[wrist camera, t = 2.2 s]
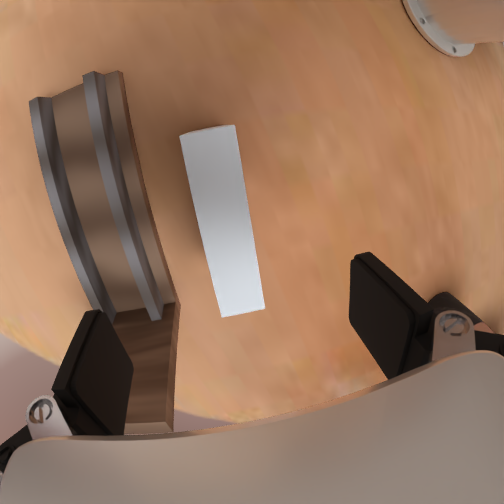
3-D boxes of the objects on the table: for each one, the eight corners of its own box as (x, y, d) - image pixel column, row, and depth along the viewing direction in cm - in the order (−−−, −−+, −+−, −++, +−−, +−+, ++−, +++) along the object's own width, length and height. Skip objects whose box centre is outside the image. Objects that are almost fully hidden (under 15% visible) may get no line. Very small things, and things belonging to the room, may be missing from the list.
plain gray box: (190, 131, 23) (179, 135, 14) (224, 124, 23) (234, 124, 14) (215, 254, 28) (222, 317, 19) (246, 248, 29) (265, 308, 20)
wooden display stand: (40, 107, 19) (-79, 118, 5) (122, 73, 20) (28, 27, 6) (107, 317, 30) (70, 431, 16) (180, 305, 30) (173, 432, 16)
